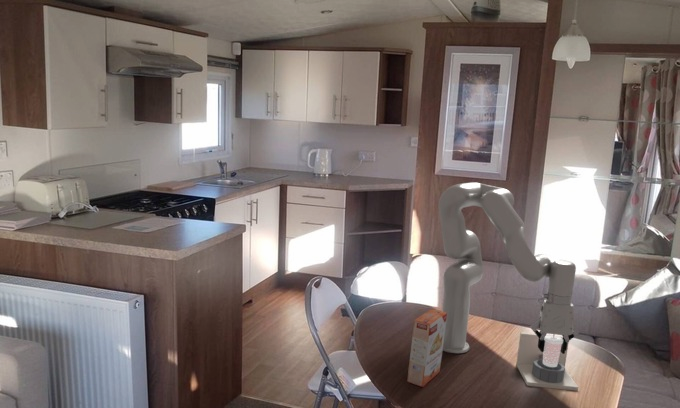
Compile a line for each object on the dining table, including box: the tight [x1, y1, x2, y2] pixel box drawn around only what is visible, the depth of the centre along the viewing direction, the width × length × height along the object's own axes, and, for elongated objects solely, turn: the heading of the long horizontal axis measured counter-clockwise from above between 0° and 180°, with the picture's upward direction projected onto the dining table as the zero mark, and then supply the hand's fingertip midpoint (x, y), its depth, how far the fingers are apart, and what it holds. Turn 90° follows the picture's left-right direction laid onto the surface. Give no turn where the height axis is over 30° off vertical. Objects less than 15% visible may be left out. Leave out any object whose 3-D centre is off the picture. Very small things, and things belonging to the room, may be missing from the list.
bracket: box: [515, 332, 579, 392], centre depth 191 cm, size 16×15×12 cm
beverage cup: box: [543, 334, 563, 367], centre depth 189 cm, size 6×6×14 cm
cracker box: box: [406, 308, 447, 388], centre depth 184 cm, size 14×6×21 cm, turn 148°
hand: (551, 350), depth 189 cm, fingers closed on beverage cup, 6 cm apart
